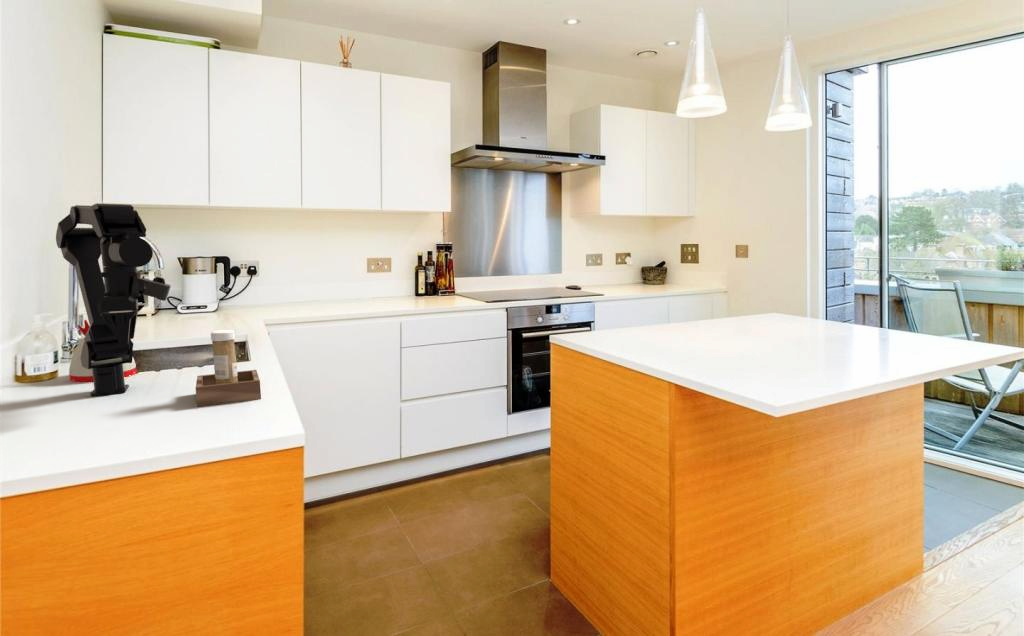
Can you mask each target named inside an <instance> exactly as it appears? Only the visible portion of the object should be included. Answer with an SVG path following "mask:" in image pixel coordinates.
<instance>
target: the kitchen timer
mask: <svg viewBox="0 0 1024 636" xmlns="http://www.w3.org/2000/svg"><path fill="white" fill-rule="evenodd" d="M83 326H84V327H82V326H81V325H80V324H78V325H77V327H78V329H79V331H80V332H81V333H82V335H83V336H84V337H83V338H81V340H80V341H79V343H78V344H77V346H76V347H75V348H73V350H71V352H72V357H71V360H70V365H69V369H68V371H69V372H68V376H69V381H70V380H71V381H72V382H71V381H70V382H71V383H76V382H92V383H94V382H93V373H92V368H91V369H86V368H84V367H82V363H81V358H80V357H81V353H82V348H83V344H84V342H85V341H84V338H85V336H86V333H87V331H88V329H89V327H90V324H89V321H88V320H87V319H84V325H83ZM118 359H119V358H118ZM111 360H112V359H111ZM104 361H105V360H104ZM91 362H94V361H91ZM97 362H98V361H97ZM137 371H138V369H137V365H136V361H135V358H134V357H133V358H132V363H125V364H123V372H124V377H126V378H128V377H132V376H134V375H136V374H137ZM129 375H131V376H129Z"/></svg>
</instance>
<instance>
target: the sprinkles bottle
mask: <svg viewBox="0 0 1024 636" xmlns="http://www.w3.org/2000/svg"><path fill="white" fill-rule="evenodd" d="M235 339H236V334H235V330H233V329H219V330H214V331H211V332H210V340H211V343H212V352H213V353H212V354H213V355H212V357H213V358H212V359H213V368H214V369H213V370H214V374H215V378H216V384H225V383H234V382H238V379H237V372H238V367H237V356H236V348H235Z"/></svg>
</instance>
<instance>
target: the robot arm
mask: <svg viewBox="0 0 1024 636" xmlns="http://www.w3.org/2000/svg"><path fill="white" fill-rule="evenodd" d="M77 225H89V226H91V227H77ZM146 232H147V228H146V225H145V224H144V222H143V219H142V218H141V216H140V215H139V212H138V211H137V210H135V208H134V206H133V205H132V204H127V203H125V204H124V203H123V204H121V203H97V202H96V203H95V204H92V205H82V204H81V205H79V204H76V205H72V206H71V207H70V210H69V214H68V215H66V216H65V217H64V218H62V219H61V220H60V221H59V222H58V223H57V229H56V232H55V234H56V235H55V242H56V245H57V248H58V249H60V251H61V253H62V257H63V259H64V260H65V261H67V262H68V263H69V264H71V266H72V267H74V269H75V273H76V276H77V282H78V286H79V289H80V293H81V297H82V301H83V304H84V308H85V312H86V315H87V319H88V320H87V321H88V324H89V326H90V327H89V329H88V331H87V333H86V336H84V337H85V338H84V337H83V338H84V341H85V342H84V344H83V348H82V353H81V357H80V358H81V363H82V367H84V368H86V369H91V368H92V373H93V382H92V383H93V390H91V392H90V394H89V395H90V397H94V396H95V397H96V396H104V395H113V394H121V393H126V392H127V391H128V389H129V388H130V384H126V383H125V378H124V372H123V364H125V363H132V358H134V356H133V353H134V350H133V349H134V342H133V339H134V338H135V332H136V325H137V319H138V318H137V317H138V313H139V312H140V311H141V310H142V309H143V308H145V306H146V303H147V297H152V298H156V299H157V300H159V301H167V299H168V296H169V292H170V290H171V287H172V286H171V284H167V283H166V279H165V278H164V277H160V276H156V277H155V278H154V279H152V280H151V279H149V278H148V279H147V278H143V277H141V272H140V271H139V270H138V268H140V267H144V266H147V265H148V264H149V263H150V262H151V260H152V258H153V254H154V252H153V251H154V250H153V248H152V246H151V244H150V243H149V242H148V241H146V240H145V239H143V238H146V237H147V233H146ZM100 258H101V264H102V270H101V266H100V262H99V260H100ZM118 358H119V359H118ZM111 359H112V360H111ZM104 360H105V361H104ZM91 361H94V362H91ZM97 361H98V362H97Z"/></svg>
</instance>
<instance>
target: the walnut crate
mask: <svg viewBox="0 0 1024 636" xmlns="http://www.w3.org/2000/svg"><path fill="white" fill-rule="evenodd" d="M237 379H238V382H234V383H225V384H216V378H215V373H212V374H203V375H197V377H196V382H195V383H196V384H195V396H196V407H197V408H200V407H209V406H215V405H222V404H223V405H224V404H230V403H240V402H247V401H255V400H261V399H262V393H261V380H260V377H259V374H258V370H257V369H252V370H249V369H248V370H239V371H237Z"/></svg>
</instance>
